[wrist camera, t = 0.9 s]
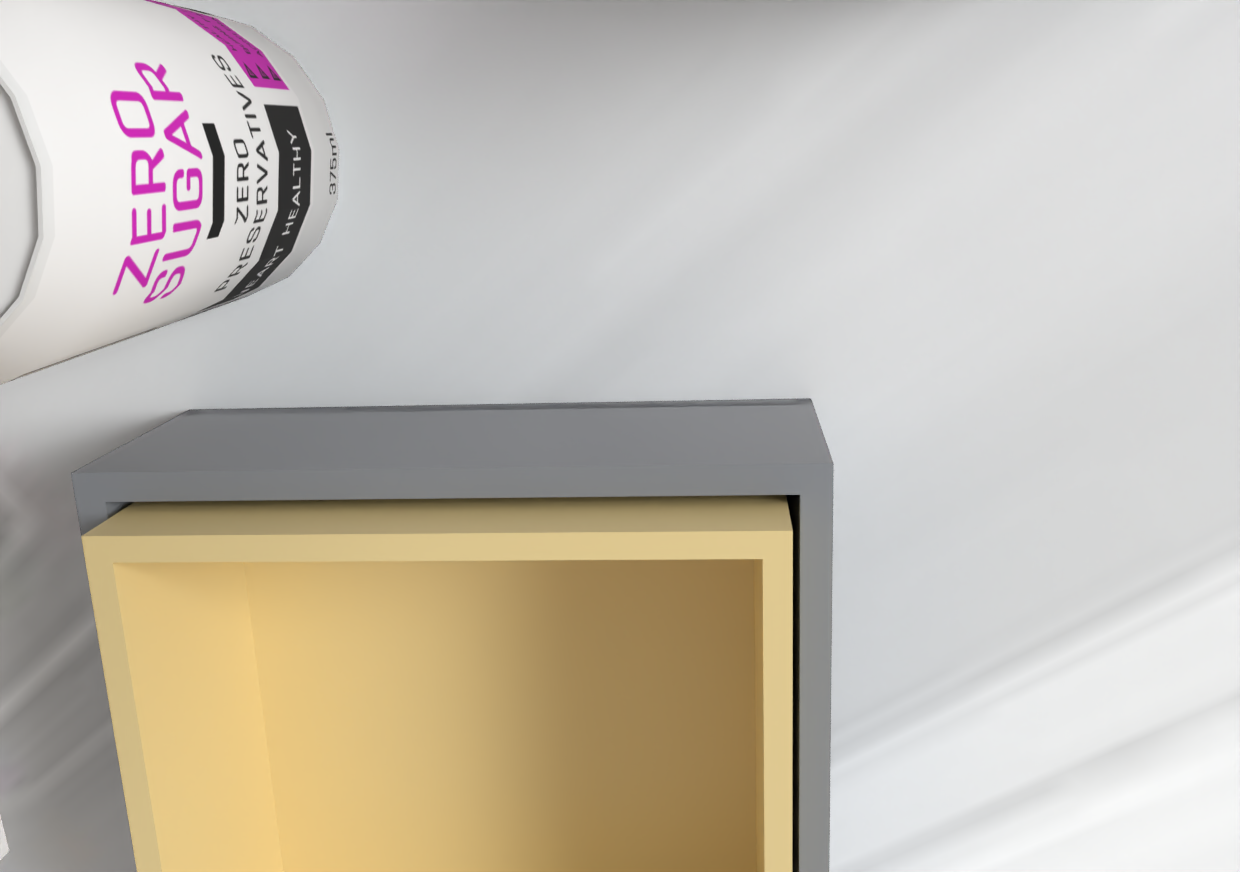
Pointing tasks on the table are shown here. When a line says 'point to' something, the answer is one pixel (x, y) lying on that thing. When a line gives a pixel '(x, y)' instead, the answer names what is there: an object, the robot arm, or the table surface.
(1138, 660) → the table surface
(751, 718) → the inner crate
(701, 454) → the outer crate
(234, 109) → the supplement can
